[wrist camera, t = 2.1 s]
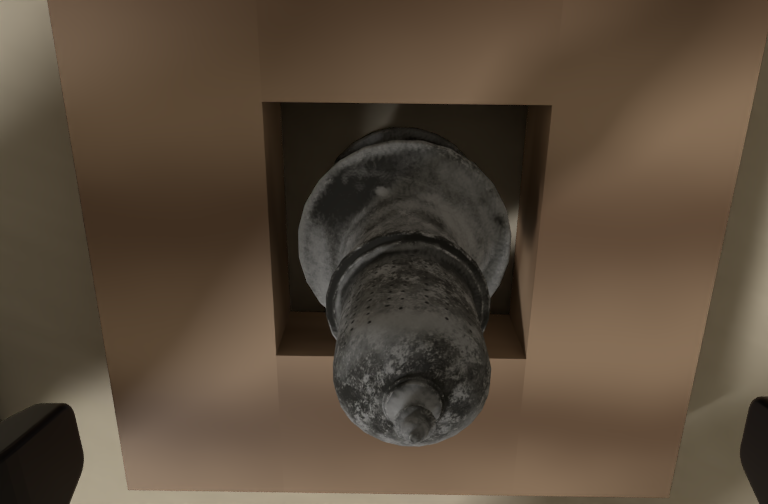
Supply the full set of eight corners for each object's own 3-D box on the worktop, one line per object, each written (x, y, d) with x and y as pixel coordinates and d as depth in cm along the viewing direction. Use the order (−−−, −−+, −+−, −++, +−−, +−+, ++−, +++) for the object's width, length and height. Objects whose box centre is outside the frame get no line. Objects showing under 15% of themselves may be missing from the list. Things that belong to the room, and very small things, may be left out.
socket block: (636, 440, 24) (668, 497, 21) (158, 434, 24) (127, 490, 22) (735, -101, 18) (800, -120, 15) (83, -108, 18) (26, -128, 15)
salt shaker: (472, 301, 22) (555, 602, 11) (302, 277, 22) (213, 560, 11) (509, 132, 20) (659, 295, 9) (323, 104, 20) (237, 233, 9)
